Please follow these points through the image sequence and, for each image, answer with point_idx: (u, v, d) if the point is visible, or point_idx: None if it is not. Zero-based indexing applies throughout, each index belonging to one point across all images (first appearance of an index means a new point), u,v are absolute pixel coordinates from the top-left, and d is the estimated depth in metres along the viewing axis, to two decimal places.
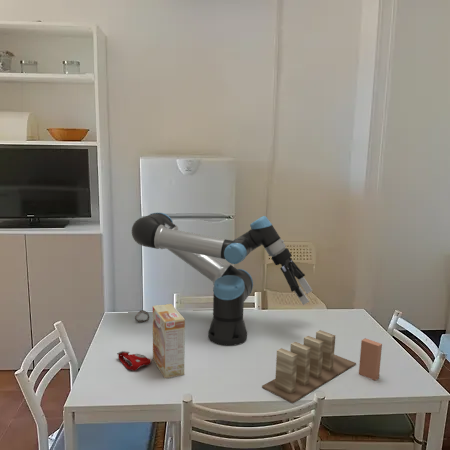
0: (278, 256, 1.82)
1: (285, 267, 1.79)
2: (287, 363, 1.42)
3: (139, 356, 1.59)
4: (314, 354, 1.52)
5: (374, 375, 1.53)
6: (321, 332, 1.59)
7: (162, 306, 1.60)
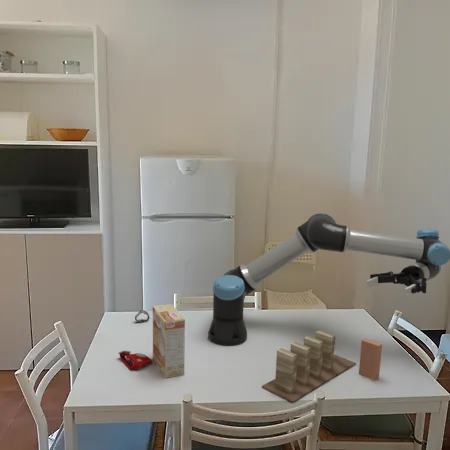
0: (423, 277, 1.69)
1: (426, 284, 1.64)
2: (287, 363, 1.42)
3: (140, 355, 1.59)
4: (314, 354, 1.52)
5: (374, 375, 1.53)
6: (321, 332, 1.59)
7: (162, 306, 1.60)
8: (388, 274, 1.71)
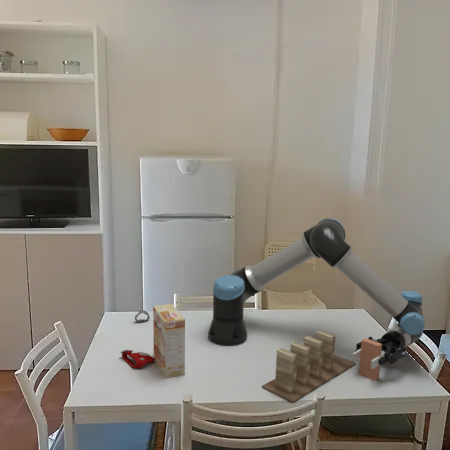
0: (404, 345, 1.64)
1: (404, 355, 1.58)
2: (287, 363, 1.42)
3: (143, 354, 1.60)
4: (314, 354, 1.52)
5: (374, 375, 1.53)
6: (321, 332, 1.59)
7: (163, 306, 1.60)
8: None
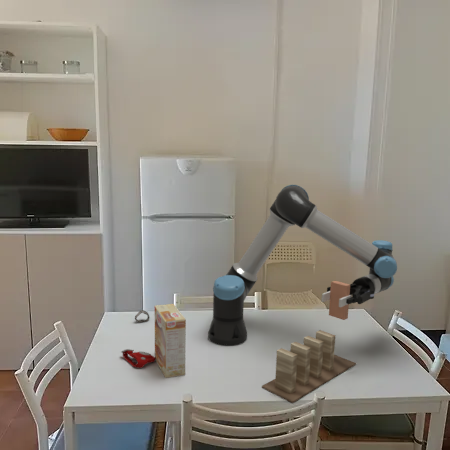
0: (374, 289, 1.70)
1: (372, 297, 1.64)
2: (287, 363, 1.42)
3: (144, 354, 1.61)
4: (314, 354, 1.52)
5: (343, 315, 1.59)
6: (321, 332, 1.59)
7: (164, 306, 1.60)
8: None
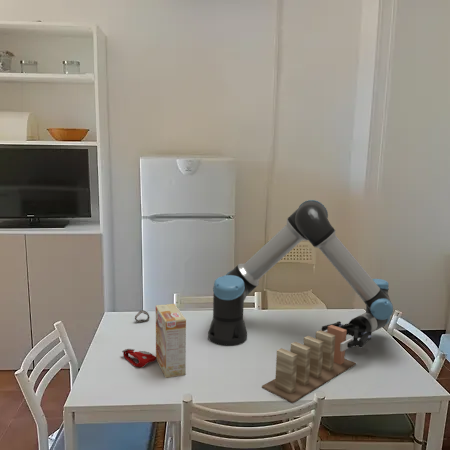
0: (370, 329, 1.72)
1: (370, 338, 1.67)
2: (287, 363, 1.42)
3: (145, 353, 1.61)
4: (314, 354, 1.52)
5: (340, 360, 1.62)
6: (321, 332, 1.59)
7: (165, 306, 1.60)
8: (337, 325, 1.73)
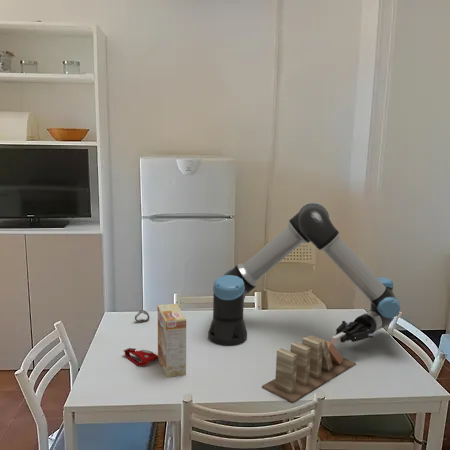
0: (375, 327, 1.75)
1: (371, 336, 1.68)
2: (287, 363, 1.42)
3: (147, 352, 1.62)
4: (313, 355, 1.51)
5: (338, 362, 1.61)
6: None
7: (167, 306, 1.60)
8: (345, 324, 1.74)
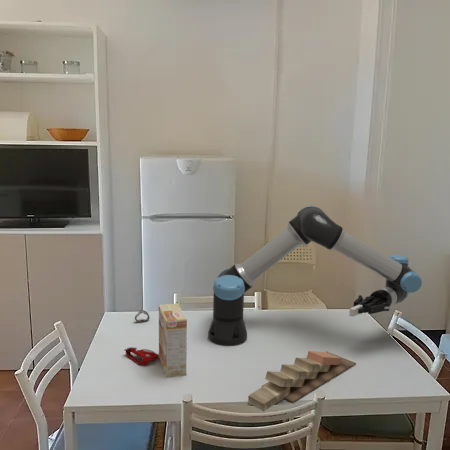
0: (390, 302, 1.80)
1: (387, 309, 1.74)
2: None
3: (148, 351, 1.63)
4: None
5: (336, 364, 1.61)
6: (298, 363, 1.51)
7: (168, 305, 1.60)
8: (361, 298, 1.80)
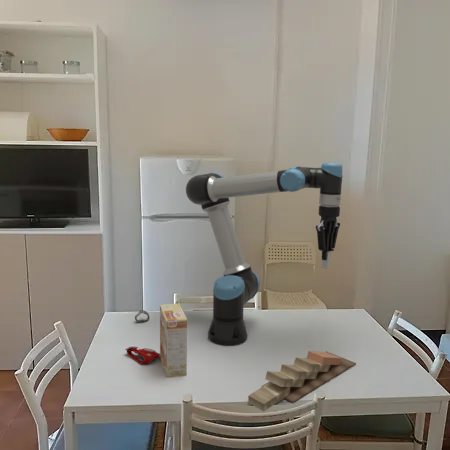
0: (323, 209, 1.69)
1: (320, 229, 1.68)
2: None
3: (149, 350, 1.63)
4: None
5: (336, 364, 1.61)
6: (298, 363, 1.51)
7: (169, 305, 1.61)
8: None
